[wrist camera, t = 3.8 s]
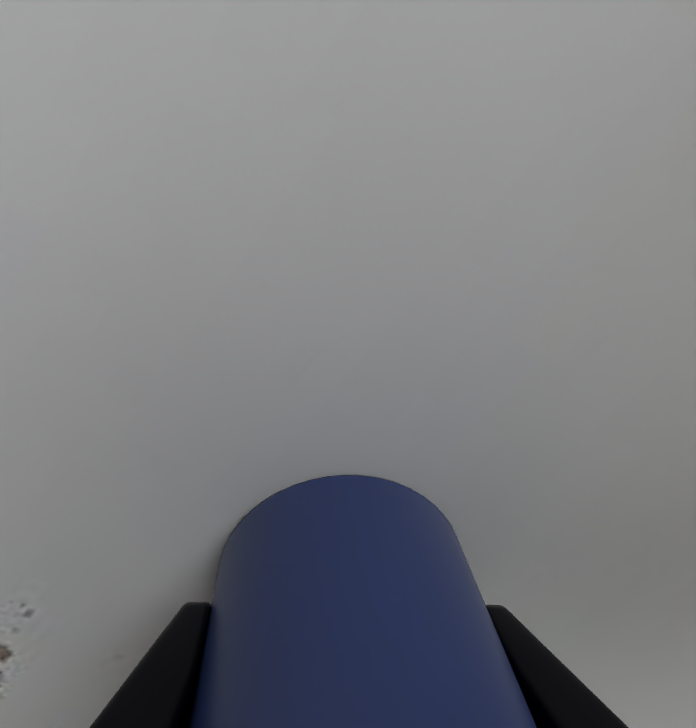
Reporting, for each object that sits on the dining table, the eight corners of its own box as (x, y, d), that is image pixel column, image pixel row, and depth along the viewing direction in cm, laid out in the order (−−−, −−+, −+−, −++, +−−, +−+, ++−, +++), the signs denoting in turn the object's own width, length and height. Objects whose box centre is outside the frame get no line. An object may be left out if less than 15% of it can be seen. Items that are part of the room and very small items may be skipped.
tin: (501, 584, 10) (706, 1014, 5) (317, 693, 11) (335, 1166, 6) (372, 426, 8) (484, 823, 3) (165, 565, 9) (1, 1070, 4)
